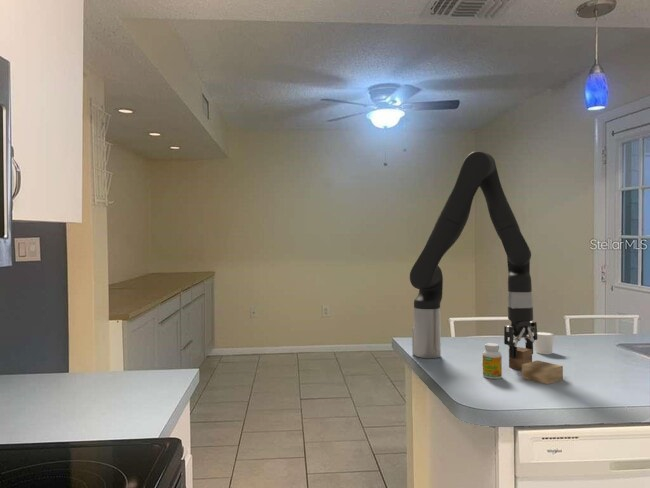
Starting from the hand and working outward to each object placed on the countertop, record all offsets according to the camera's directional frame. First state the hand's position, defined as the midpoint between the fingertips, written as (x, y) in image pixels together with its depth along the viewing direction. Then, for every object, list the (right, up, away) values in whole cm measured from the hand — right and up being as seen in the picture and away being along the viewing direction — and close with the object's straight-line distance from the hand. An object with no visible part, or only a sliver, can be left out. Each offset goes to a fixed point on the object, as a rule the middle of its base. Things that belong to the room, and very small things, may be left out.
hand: (521, 356), depth 151 cm
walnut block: (0, -4, +1) cm, 4 cm away
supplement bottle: (-13, -4, -9) cm, 16 cm away
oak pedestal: (+1, -4, -12) cm, 13 cm away
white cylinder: (+17, -4, +20) cm, 27 cm away
